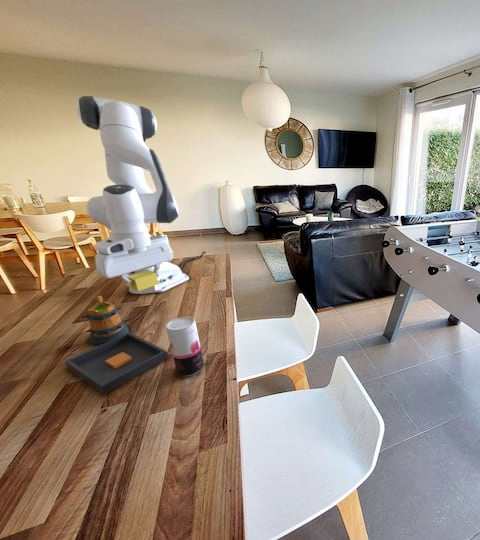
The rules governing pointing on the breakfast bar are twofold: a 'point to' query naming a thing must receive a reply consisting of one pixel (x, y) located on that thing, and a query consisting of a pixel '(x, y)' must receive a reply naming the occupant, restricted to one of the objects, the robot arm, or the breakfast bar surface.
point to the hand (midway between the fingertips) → (143, 280)
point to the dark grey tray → (109, 378)
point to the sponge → (143, 280)
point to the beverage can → (185, 346)
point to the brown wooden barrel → (105, 322)
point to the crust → (118, 360)
